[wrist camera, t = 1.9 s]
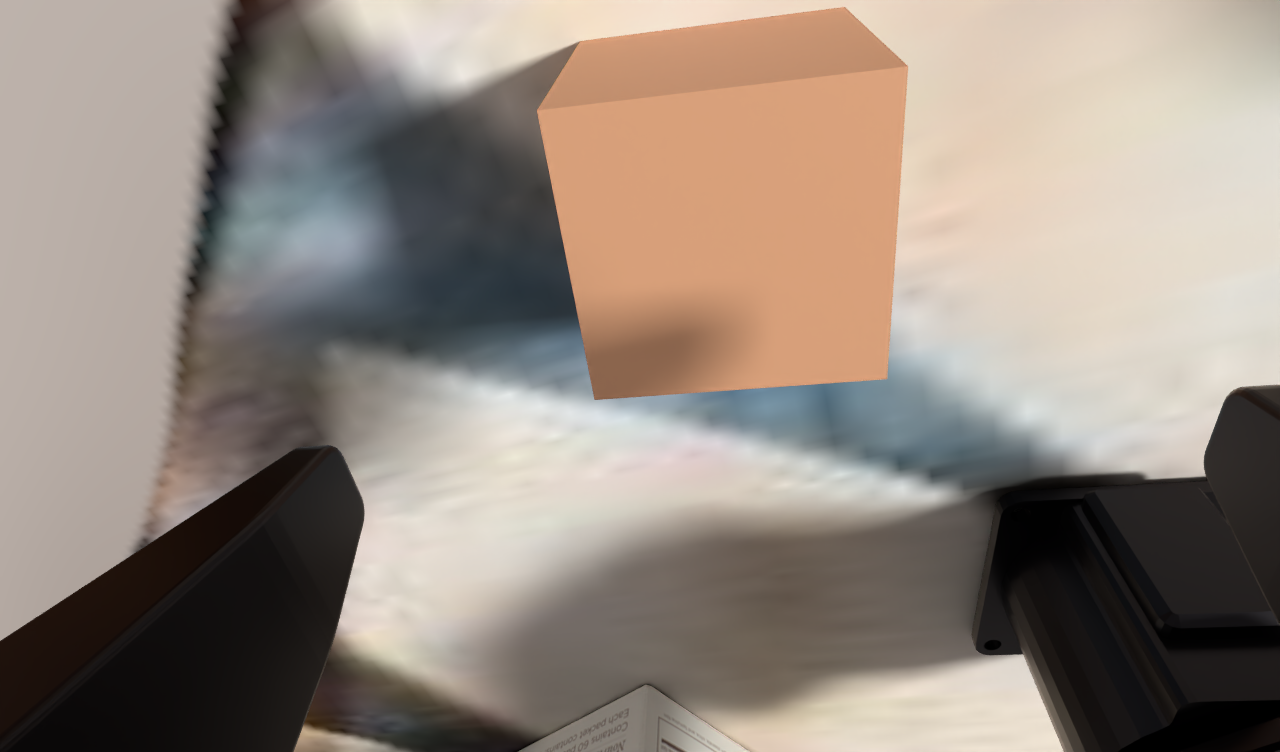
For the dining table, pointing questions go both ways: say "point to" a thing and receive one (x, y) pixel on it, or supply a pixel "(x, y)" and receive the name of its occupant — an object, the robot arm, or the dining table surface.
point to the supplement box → (638, 729)
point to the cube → (730, 202)
